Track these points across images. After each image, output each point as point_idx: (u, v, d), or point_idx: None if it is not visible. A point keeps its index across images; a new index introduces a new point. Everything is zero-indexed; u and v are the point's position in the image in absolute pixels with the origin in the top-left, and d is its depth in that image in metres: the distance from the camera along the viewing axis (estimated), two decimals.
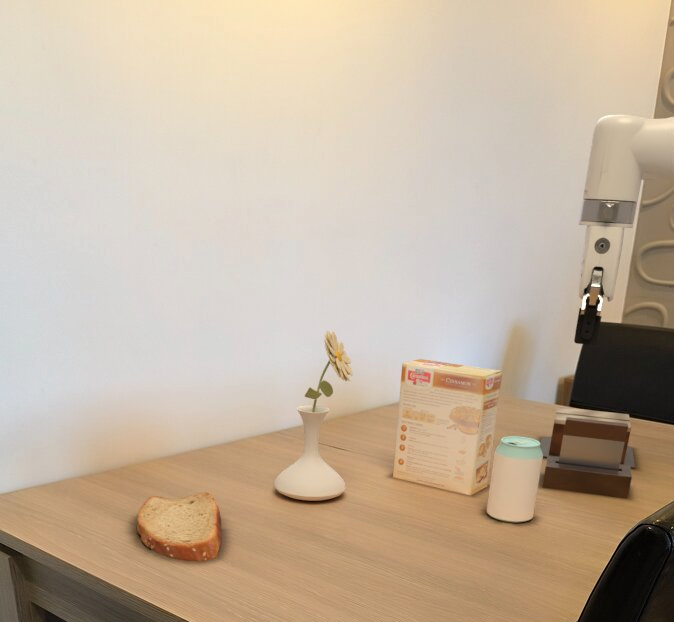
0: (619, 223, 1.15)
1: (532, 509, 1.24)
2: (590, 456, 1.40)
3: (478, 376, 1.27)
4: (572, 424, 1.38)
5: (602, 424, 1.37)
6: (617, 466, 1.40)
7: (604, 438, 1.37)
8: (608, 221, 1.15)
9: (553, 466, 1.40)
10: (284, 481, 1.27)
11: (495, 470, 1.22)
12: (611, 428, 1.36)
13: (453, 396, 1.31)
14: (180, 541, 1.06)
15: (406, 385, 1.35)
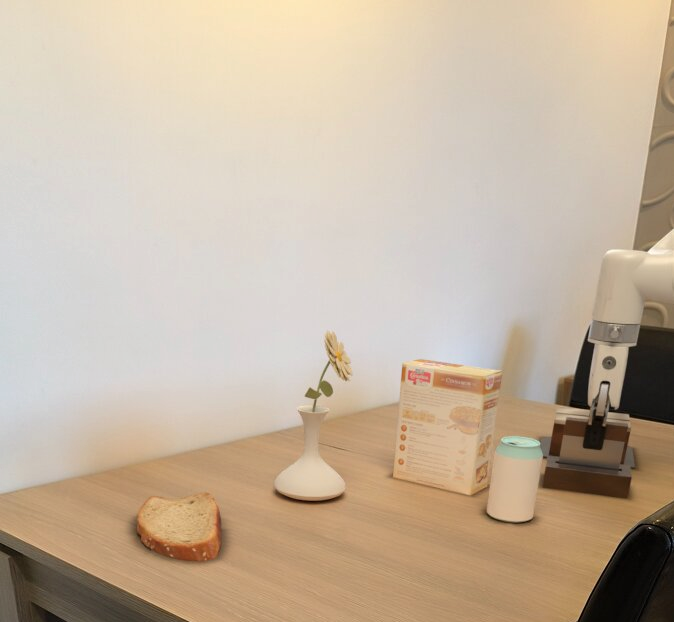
0: (624, 343, 1.29)
1: (532, 509, 1.24)
2: (590, 456, 1.40)
3: (478, 376, 1.27)
4: (572, 424, 1.38)
5: None
6: (617, 466, 1.40)
7: (604, 438, 1.37)
8: (614, 341, 1.29)
9: (553, 466, 1.40)
10: (284, 481, 1.27)
11: (495, 470, 1.22)
12: (611, 428, 1.36)
13: (453, 396, 1.31)
14: (180, 542, 1.06)
15: (406, 385, 1.35)
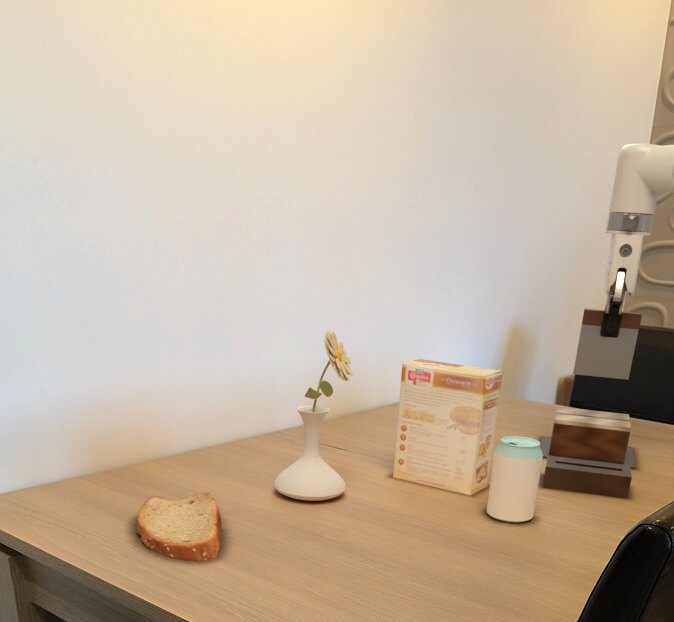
0: (639, 232, 1.40)
1: (532, 509, 1.24)
2: (606, 345, 1.51)
3: (478, 376, 1.27)
4: (590, 313, 1.49)
5: None
6: (631, 354, 1.51)
7: (620, 326, 1.49)
8: (630, 230, 1.40)
9: (553, 466, 1.40)
10: (284, 481, 1.27)
11: (495, 470, 1.22)
12: (626, 316, 1.48)
13: (453, 396, 1.31)
14: (180, 542, 1.06)
15: (406, 385, 1.35)
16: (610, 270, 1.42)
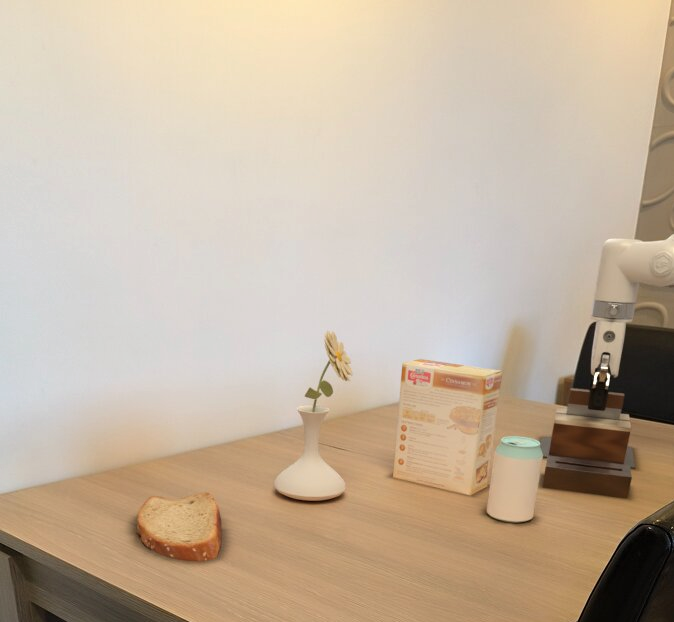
0: (622, 319, 1.49)
1: (532, 509, 1.24)
2: None
3: (478, 376, 1.27)
4: (575, 394, 1.59)
5: None
6: None
7: None
8: (613, 318, 1.49)
9: (553, 466, 1.40)
10: (284, 481, 1.27)
11: (495, 470, 1.22)
12: (610, 397, 1.57)
13: (453, 396, 1.31)
14: (180, 542, 1.06)
15: (406, 385, 1.35)
16: (595, 354, 1.51)
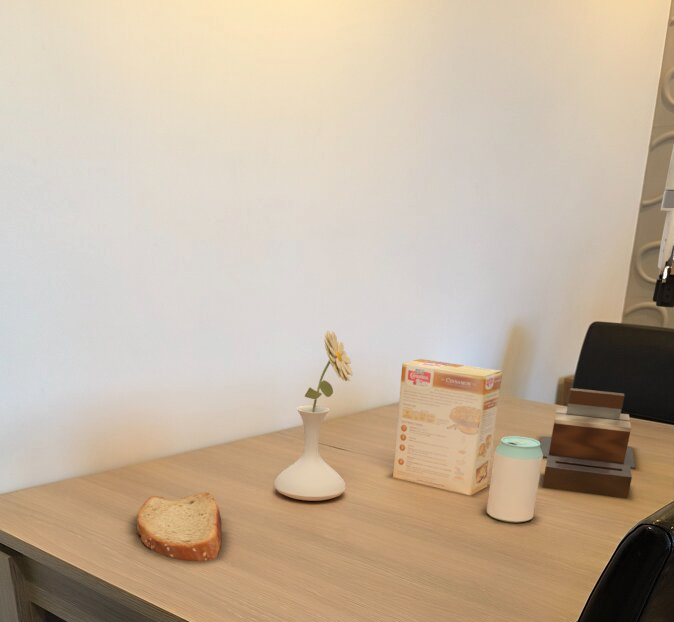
0: None
1: (532, 509, 1.24)
2: None
3: (478, 376, 1.27)
4: (575, 394, 1.59)
5: (602, 394, 1.57)
6: None
7: (603, 406, 1.58)
8: None
9: (553, 466, 1.40)
10: (284, 481, 1.27)
11: (495, 470, 1.22)
12: (610, 397, 1.57)
13: (453, 396, 1.31)
14: (180, 542, 1.06)
15: (406, 385, 1.35)
16: (665, 246, 1.47)
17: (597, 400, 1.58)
